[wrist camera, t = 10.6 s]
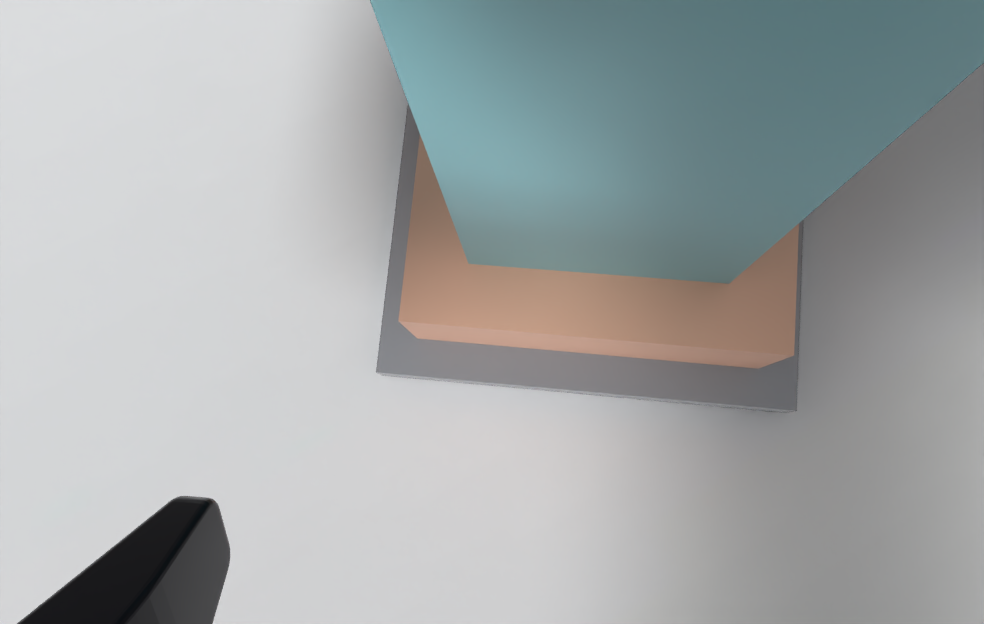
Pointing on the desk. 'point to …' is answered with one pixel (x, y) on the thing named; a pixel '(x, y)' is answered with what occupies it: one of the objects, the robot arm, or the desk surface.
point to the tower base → (559, 367)
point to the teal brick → (662, 118)
